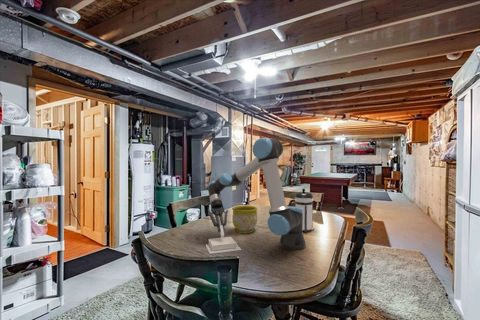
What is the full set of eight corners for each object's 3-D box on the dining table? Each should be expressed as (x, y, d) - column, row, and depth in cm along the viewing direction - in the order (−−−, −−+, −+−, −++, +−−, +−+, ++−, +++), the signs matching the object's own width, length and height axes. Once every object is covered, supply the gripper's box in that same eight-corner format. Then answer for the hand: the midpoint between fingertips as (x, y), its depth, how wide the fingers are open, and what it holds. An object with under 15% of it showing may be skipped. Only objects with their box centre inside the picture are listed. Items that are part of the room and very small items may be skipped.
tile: (208, 238, 148) (212, 245, 137) (230, 236, 153) (236, 243, 141) (208, 243, 148) (212, 251, 137) (230, 241, 153) (236, 248, 141)
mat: (205, 245, 147) (205, 244, 147) (234, 242, 153) (234, 241, 153) (210, 254, 134) (210, 253, 134) (241, 250, 139) (241, 249, 139)
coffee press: (311, 227, 185) (312, 187, 184) (316, 233, 169) (316, 190, 168) (288, 226, 186) (288, 186, 186) (290, 233, 170) (290, 189, 170)
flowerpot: (247, 236, 163) (247, 211, 163) (227, 231, 174) (226, 208, 174) (262, 229, 178) (262, 207, 177) (242, 225, 188) (242, 204, 188)
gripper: (225, 205, 164) (232, 238, 148) (205, 206, 160) (210, 240, 144) (227, 198, 159) (234, 231, 143) (207, 199, 155) (212, 234, 139)
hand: (222, 236), depth 144 cm, fingers closed
